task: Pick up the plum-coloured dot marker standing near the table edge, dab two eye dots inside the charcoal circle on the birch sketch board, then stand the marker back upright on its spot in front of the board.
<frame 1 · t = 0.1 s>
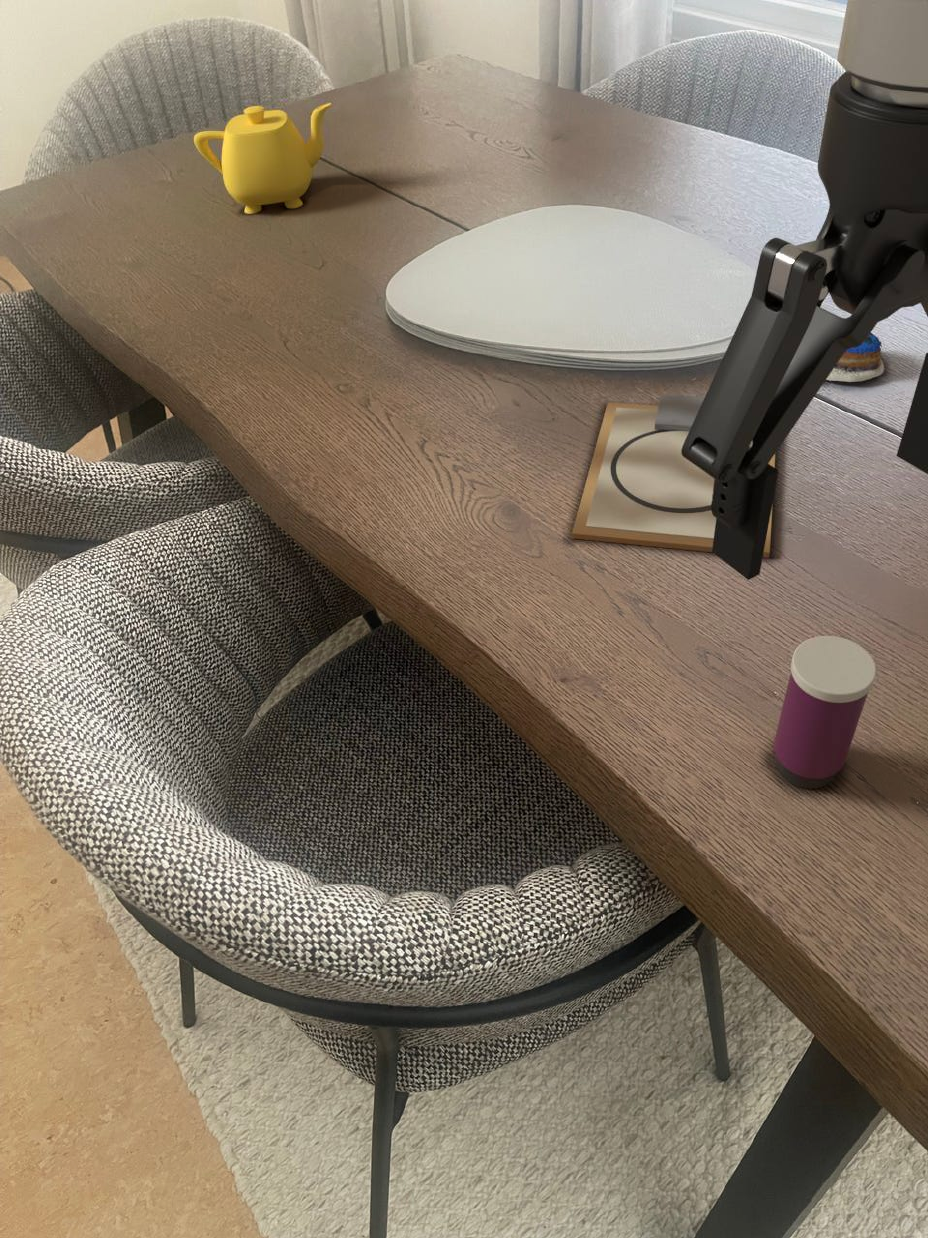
hand: (831, 512, 50), 19 cm above the table, tool pointing down, fingers open, 13 cm apart
sketch board: (680, 475, 84), on the table
dot marker: (805, 765, 61), on the table
dessert: (842, 367, 94), on the table
teapot: (280, 199, 138), on the table
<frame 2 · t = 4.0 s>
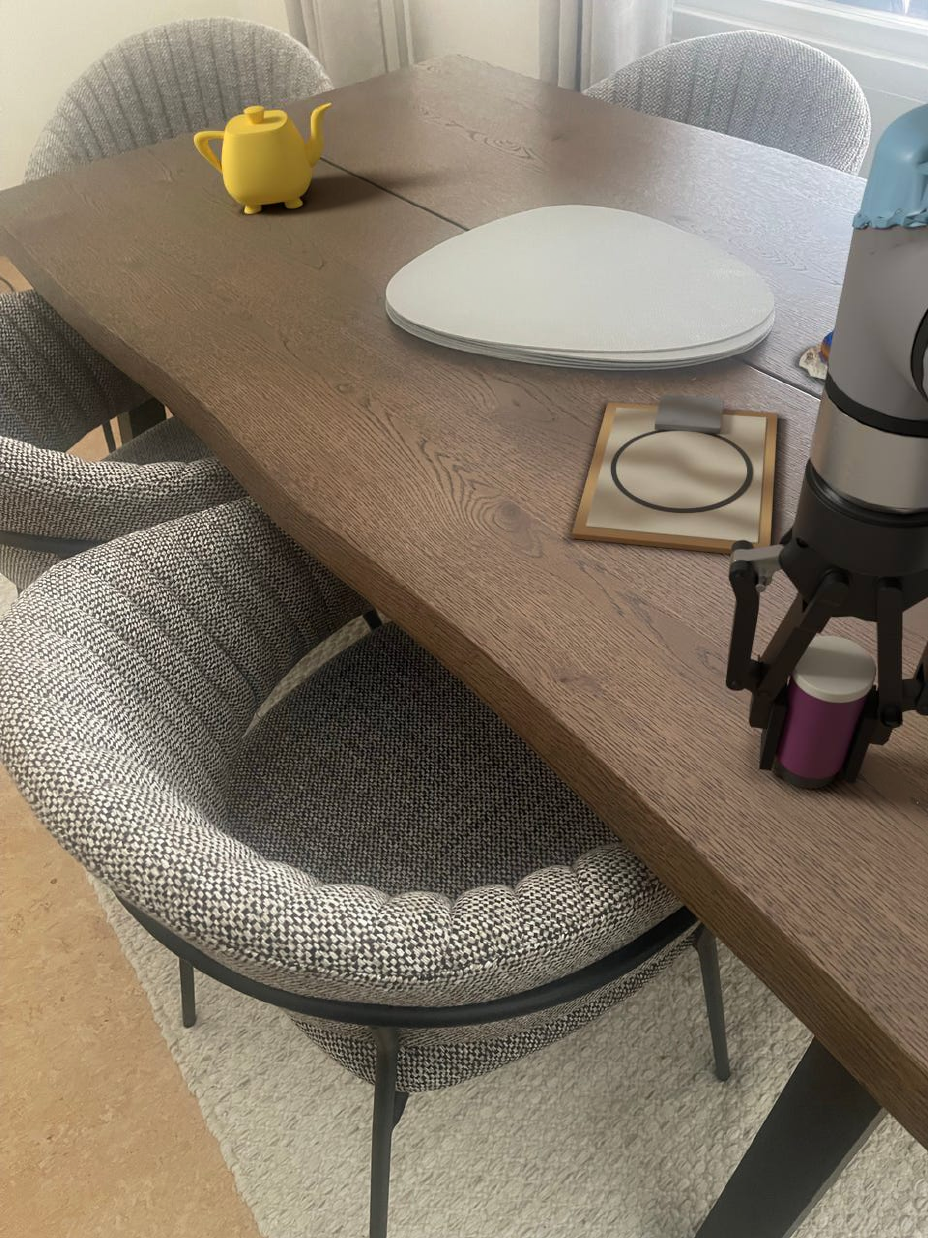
hand: (806, 758, 61), 1 cm above the table, tool pointing down, fingers closed on dot marker, 4 cm apart
dot marker: (805, 765, 61), on the table, touching gripper
everything else where it was.
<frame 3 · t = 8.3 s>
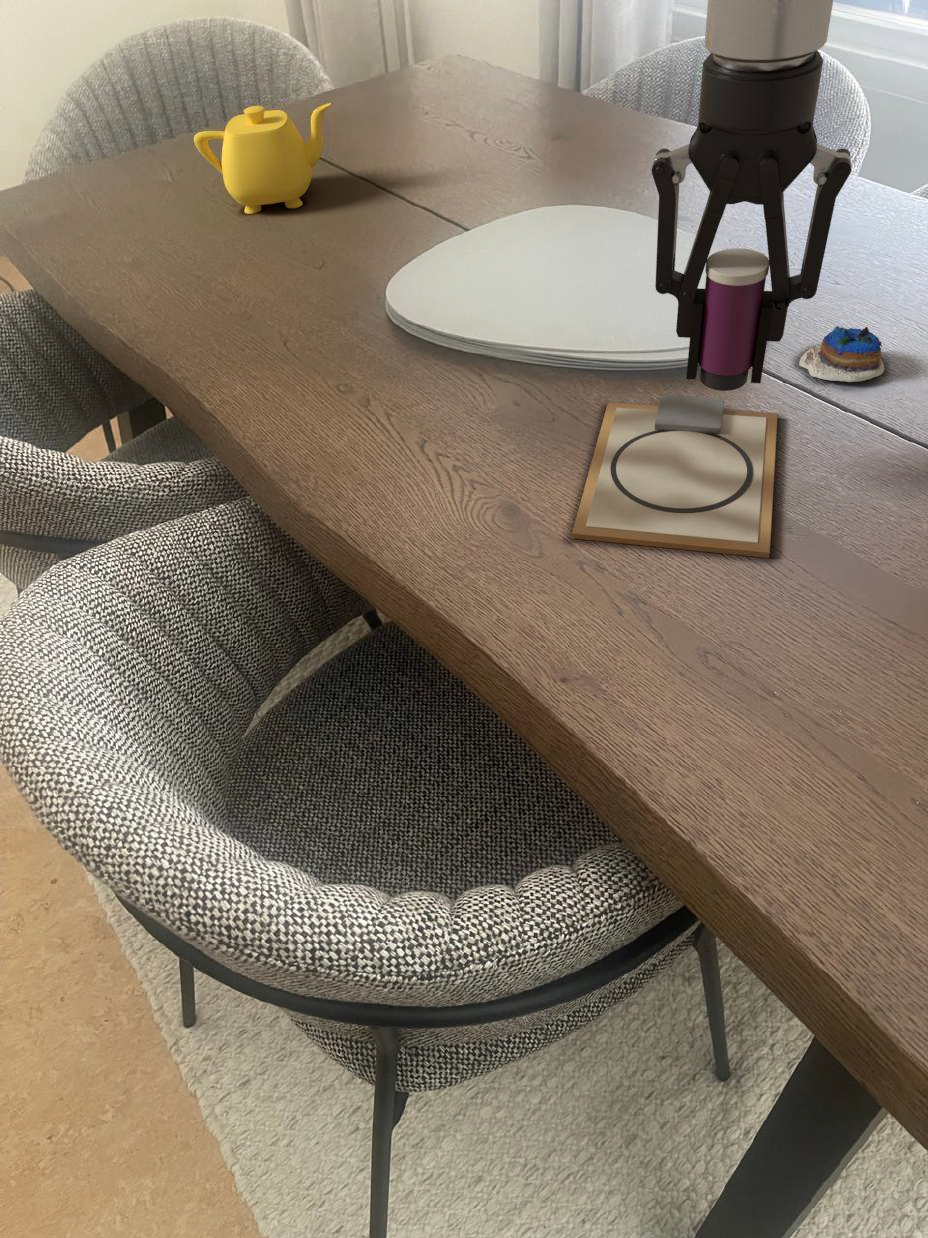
hand: (724, 371, 77), 10 cm above the table, tool pointing down, fingers closed on dot marker, 4 cm apart
dot marker: (723, 378, 77), point 9 cm above the table, touching gripper
everything else where it was.
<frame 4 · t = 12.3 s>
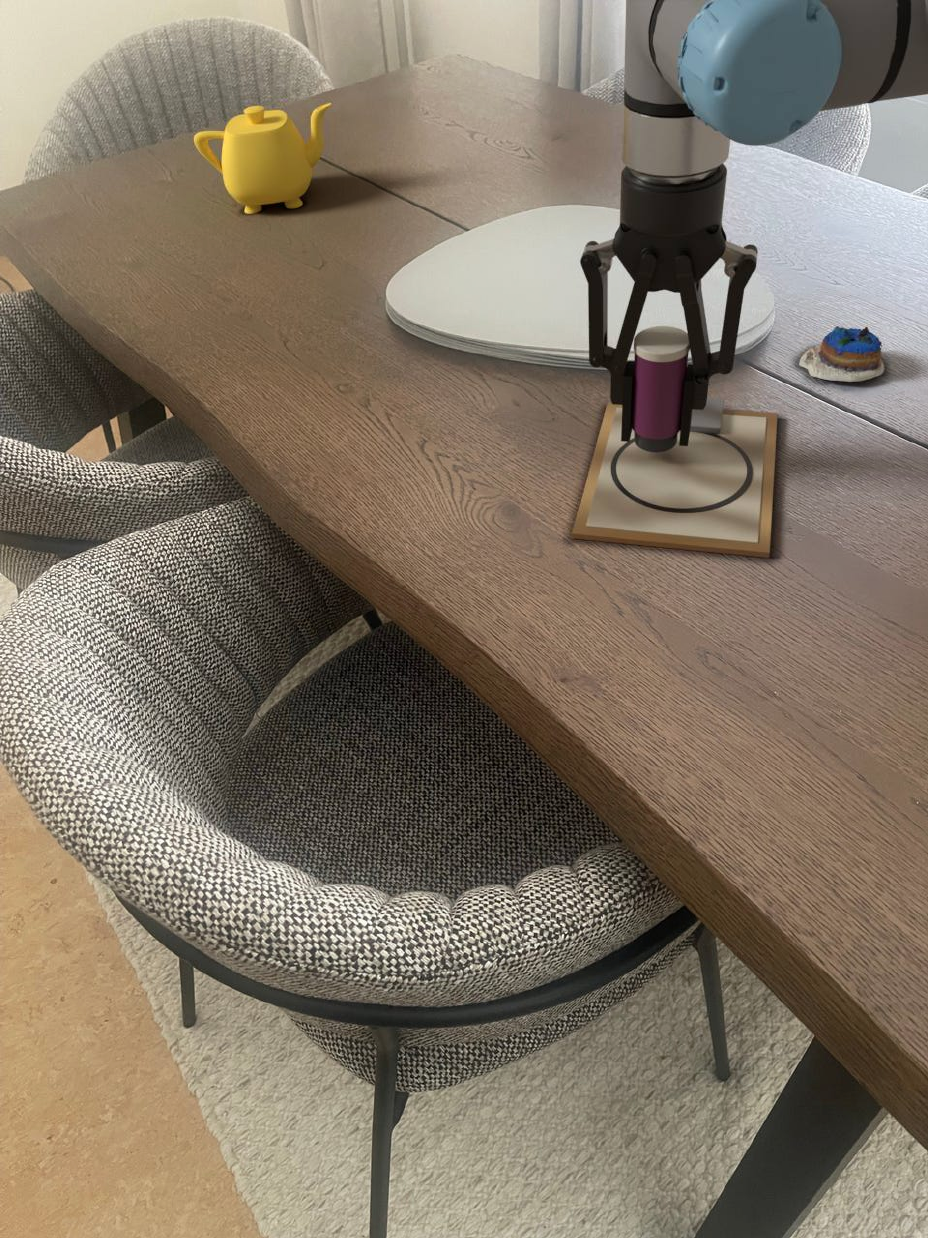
hand: (655, 434, 84), 3 cm above the table, tool pointing down, fingers closed on dot marker, 4 cm apart
dot marker: (655, 440, 84), point 2 cm above the table, touching gripper
everything else where it was.
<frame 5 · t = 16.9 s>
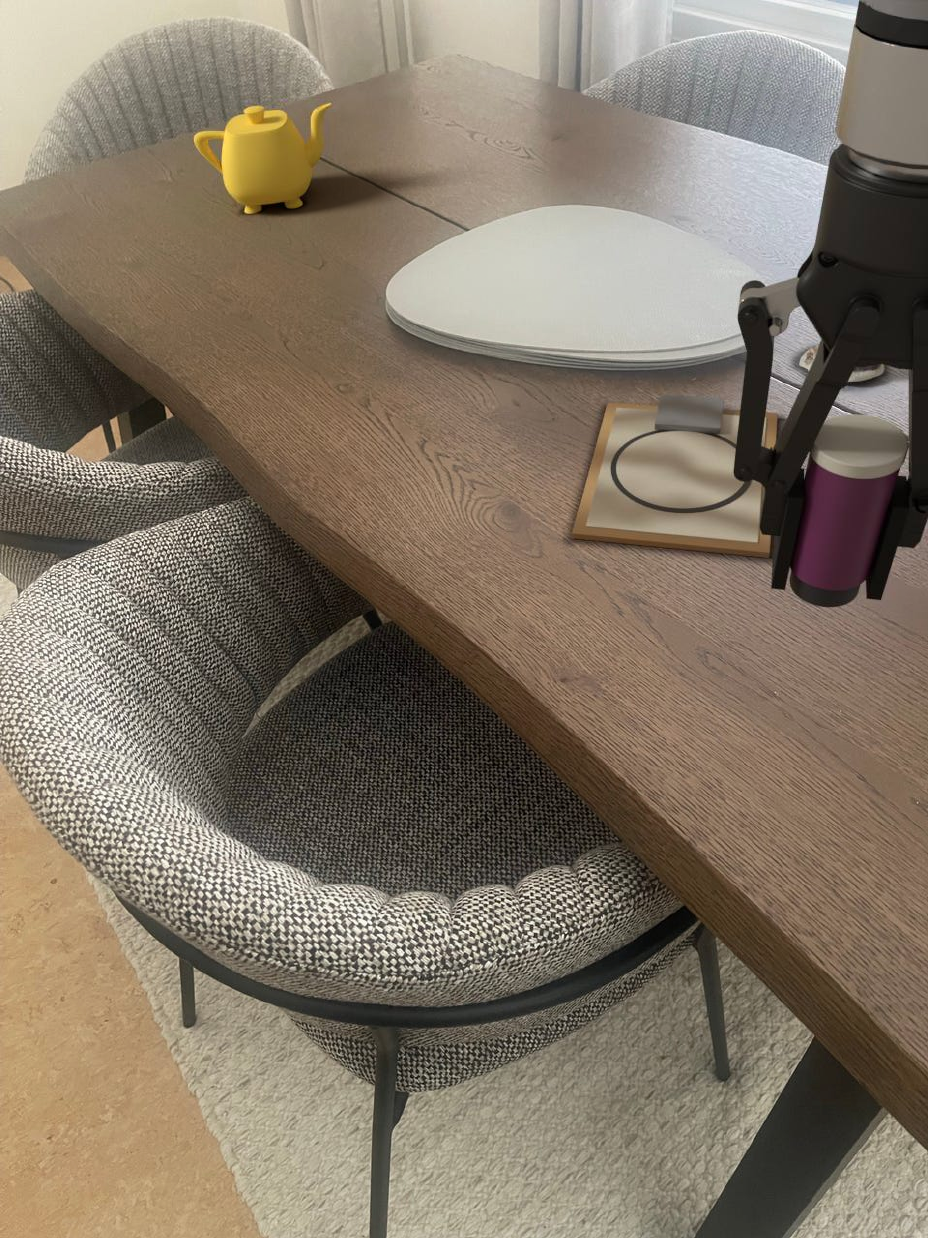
hand: (825, 577, 53), 14 cm above the table, tool pointing down, fingers closed on dot marker, 4 cm apart
dot marker: (823, 584, 54), point 13 cm above the table, touching gripper
everything else where it was.
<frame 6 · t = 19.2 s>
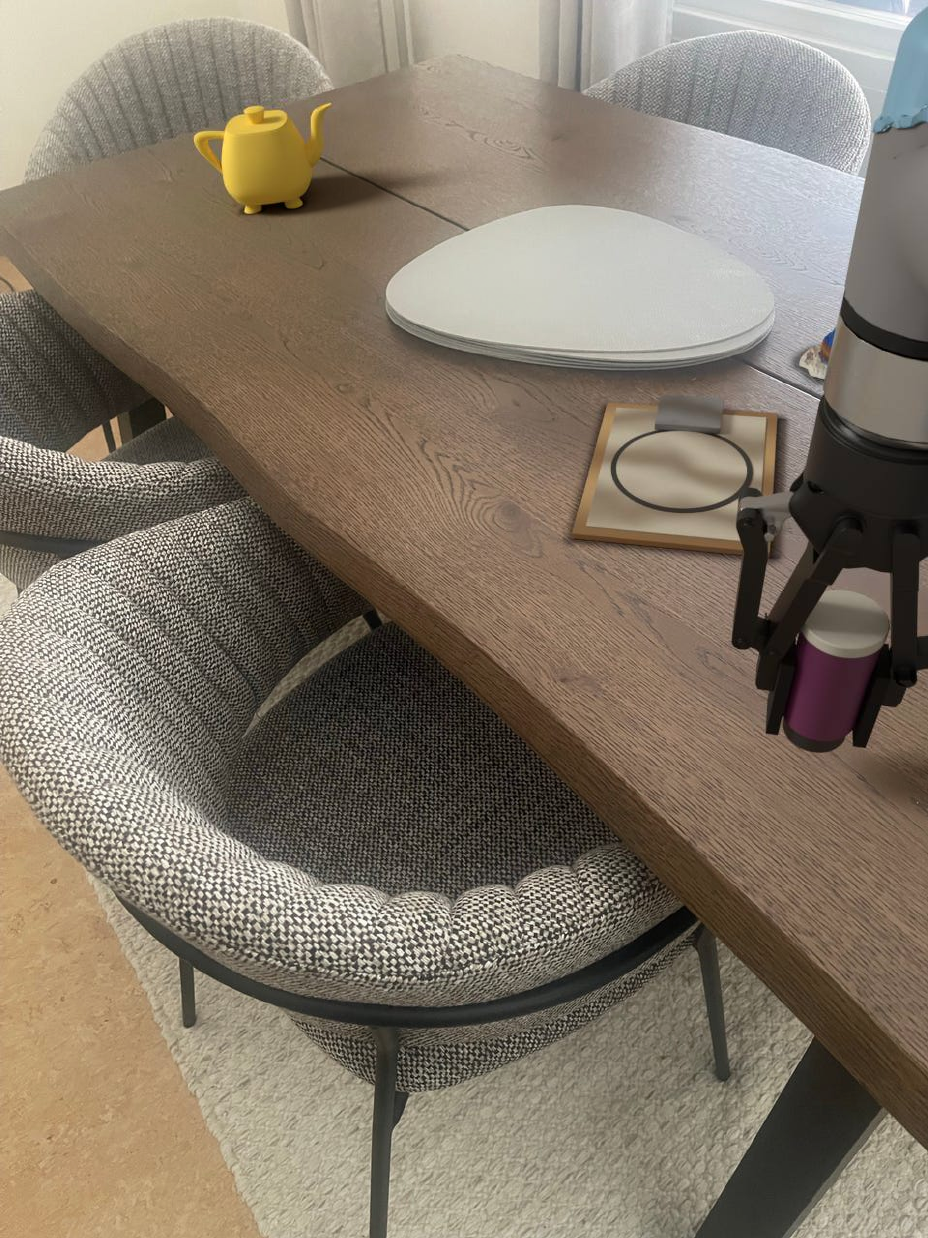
hand: (815, 723, 58), 4 cm above the table, tool pointing down, fingers closed on dot marker, 4 cm apart
dot marker: (813, 728, 59), point 4 cm above the table, touching gripper
everything else where it was.
when the fingers open (0 cm above the table, at t = 20.4 s): dot marker stays where it is, on the table.
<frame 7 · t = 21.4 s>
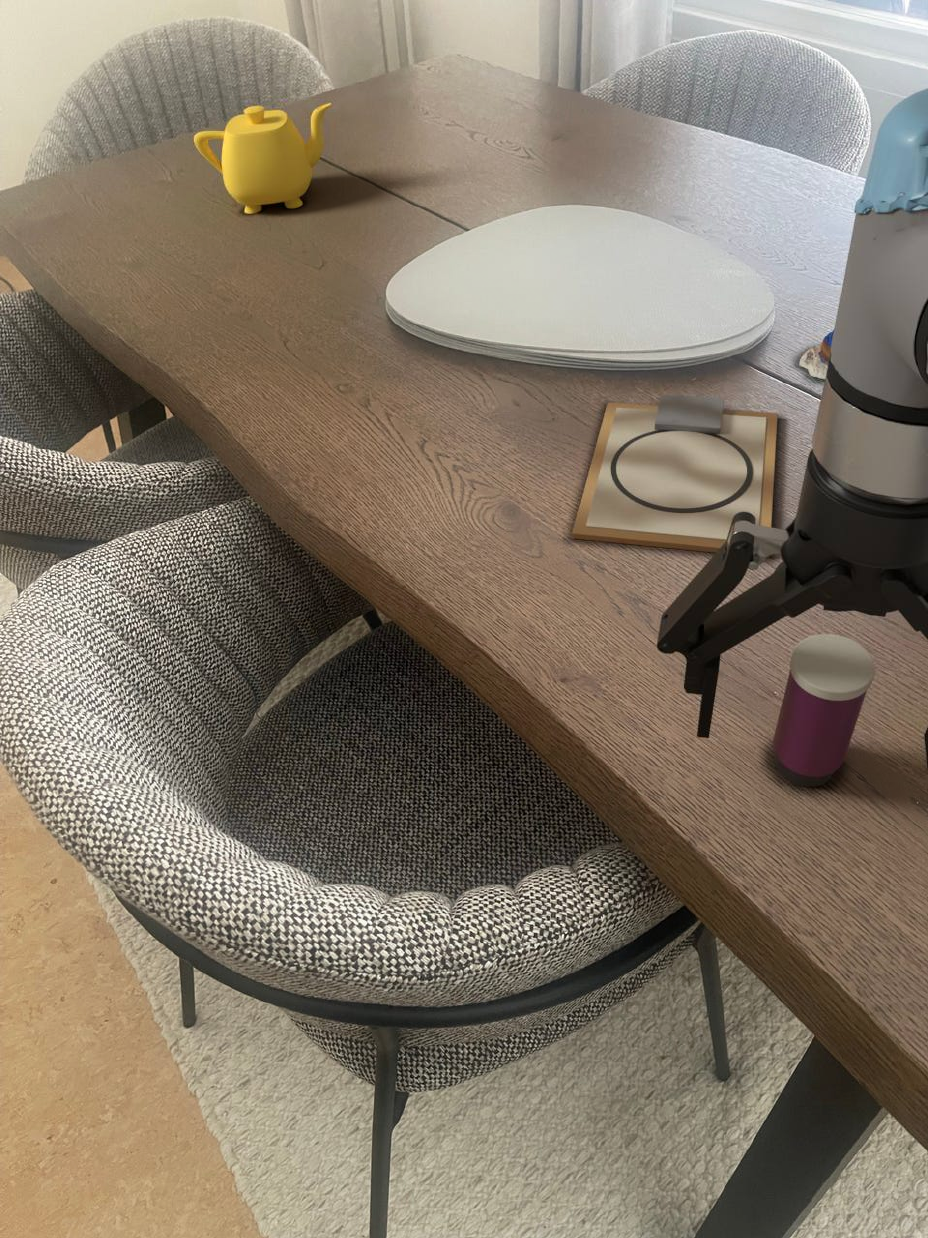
hand: (815, 737, 59), 3 cm above the table, tool pointing down, fingers open, 13 cm apart
dot marker: (804, 763, 61), on the table
everything else where it was.
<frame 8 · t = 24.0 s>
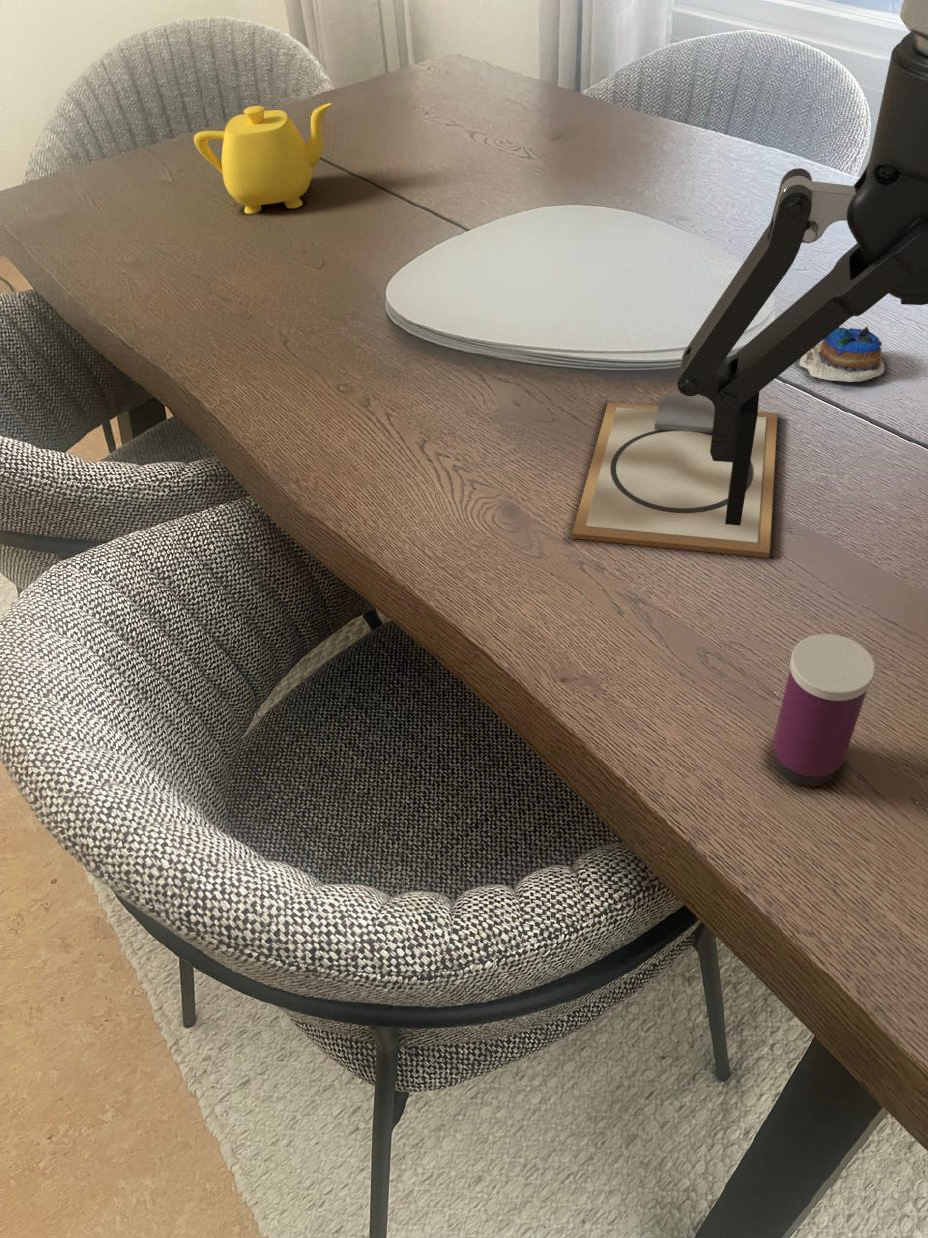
hand: (875, 521, 47), 21 cm above the table, tool pointing down, fingers open, 13 cm apart
nothing on the table moved.
at the end: dot marker tilted 0°; the gripper is holding nothing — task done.
